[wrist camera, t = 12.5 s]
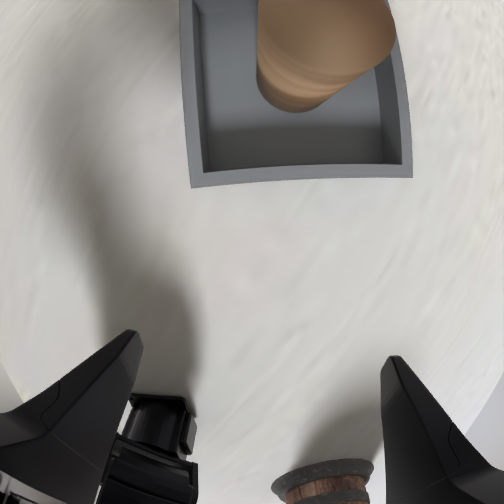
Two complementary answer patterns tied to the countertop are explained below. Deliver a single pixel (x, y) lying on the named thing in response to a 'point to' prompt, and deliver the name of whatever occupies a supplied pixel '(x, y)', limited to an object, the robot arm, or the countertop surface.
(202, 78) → the tote
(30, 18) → the countertop surface
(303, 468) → the tankard
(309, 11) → the walnut cylinder
